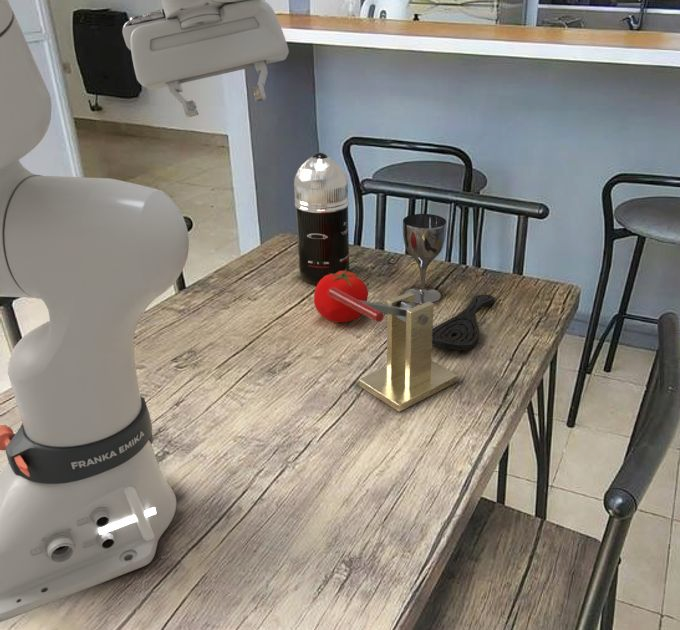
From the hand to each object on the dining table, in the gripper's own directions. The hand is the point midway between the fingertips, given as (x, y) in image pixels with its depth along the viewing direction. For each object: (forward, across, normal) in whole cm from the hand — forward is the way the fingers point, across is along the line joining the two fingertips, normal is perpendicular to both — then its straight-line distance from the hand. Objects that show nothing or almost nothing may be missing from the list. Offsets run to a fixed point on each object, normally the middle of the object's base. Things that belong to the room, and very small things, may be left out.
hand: (226, 107), depth 92 cm
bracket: (+44, +15, +1) cm, 47 cm away
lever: (+32, +13, -6) cm, 35 cm away
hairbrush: (+42, +27, +18) cm, 53 cm away
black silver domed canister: (+29, +5, +40) cm, 50 cm away
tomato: (+35, +7, +23) cm, 43 cm away
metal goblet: (+36, +22, +30) cm, 53 cm away
